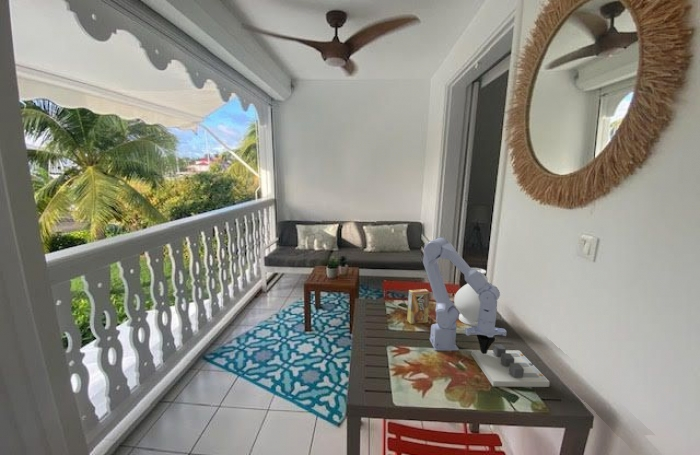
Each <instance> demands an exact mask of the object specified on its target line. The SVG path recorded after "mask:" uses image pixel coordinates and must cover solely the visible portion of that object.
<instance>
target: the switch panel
mask: <svg viewBox="0 0 700 455" xmlns="http://www.w3.org/2000/svg"><path fill="white" fill-rule="evenodd" d="M506 353H510V354H511V355H512V356H513V358H514V363H519V364H520V365H521V366H522V368H523V369H524V373H523V377H513V375H512V374H511V373H510V372H509V367H510V366H504V364H503V363H502V362H501V357H499V356H496V355H495V353H494V352H493V349H488V351H487V353H486V354H483V353H482V352H481V351H480V349H472V350H471V353H470V354H471V356H472V358H473V360H475V362H476V363H477V365H478V367H479V369H481V371H482V372H483V374H484V376H486V378H487V380H488V381H489V383H490V384H491V386H492V387H506V388H507V387H514V388H515V387H517V388H519V387H520V388H522V387H523V388H525V387H527V388H528V387H529V388H530V387H531V388H532V387H533V388H550V380H549V379H547V377H546V376H545V375H544V374H543V373H542V372H541V371H540V370H539V369H538V368H537V367H536V365H534V364H533V363H532V362H531V361H530V360H529V359H528V358H527V357H526V356H525V355H524V354H523V353H522V351H520V349H519V350H518V349H515V350H514V349H513V350H511V349H506Z"/></svg>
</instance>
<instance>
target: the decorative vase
mask: <svg viewBox="0 0 700 455" xmlns="http://www.w3.org/2000/svg"><path fill="white" fill-rule="evenodd" d="M470 268H471V269H473V270H477V271H478V272H481V273H482V274H483V275H482V276H483V277H484V278H485V279H486V280H487V281H488V280H489V279H488V277H487V276H486V273H487V270H486V269H484V268H481V267H480V268H479V267H470ZM478 296H479V295H478V294H477V293H476V292H475V291H474V290H473V289H472V287H471V286H470V285H469V284H468V283H467V282H466V284H464V285H463V286H462V287H460V288H459V289H458V290H457V291H456V293H455V295H454V298H453V303H454V306H455V307H456V308H457V309H458V311H459V318H458V320H459V322H461V323H463V324H465V325H467V326H471V327H476V326H478V317H479V307H480V300H479V297H478Z"/></svg>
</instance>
